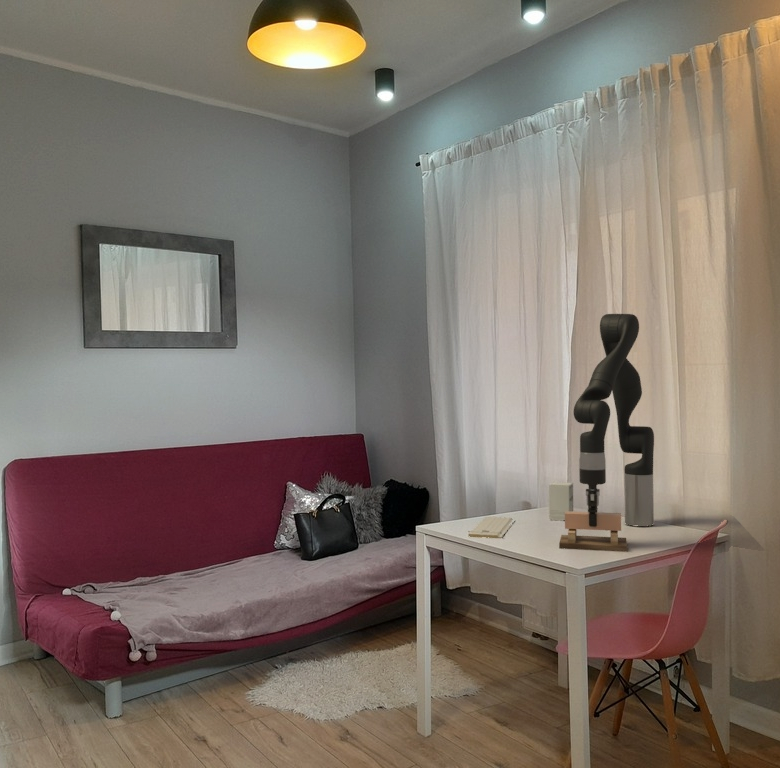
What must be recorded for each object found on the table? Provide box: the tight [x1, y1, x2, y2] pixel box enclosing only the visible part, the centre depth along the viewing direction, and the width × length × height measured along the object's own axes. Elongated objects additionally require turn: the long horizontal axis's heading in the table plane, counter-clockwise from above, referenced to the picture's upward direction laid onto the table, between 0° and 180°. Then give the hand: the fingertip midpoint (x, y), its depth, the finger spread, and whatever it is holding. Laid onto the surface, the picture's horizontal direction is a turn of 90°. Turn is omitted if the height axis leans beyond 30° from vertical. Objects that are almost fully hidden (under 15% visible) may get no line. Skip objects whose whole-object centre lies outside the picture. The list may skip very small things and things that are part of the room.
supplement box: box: [548, 481, 574, 521], centre depth 265 cm, size 7×7×13 cm
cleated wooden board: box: [558, 529, 628, 552], centre depth 223 cm, size 12×19×4 cm, turn 74°
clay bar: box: [564, 510, 622, 532], centre depth 223 cm, size 16×4×4 cm, turn 74°
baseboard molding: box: [468, 516, 514, 539], centre depth 250 cm, size 31×3×12 cm
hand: (593, 524), depth 223 cm, fingers open, 4 cm apart
